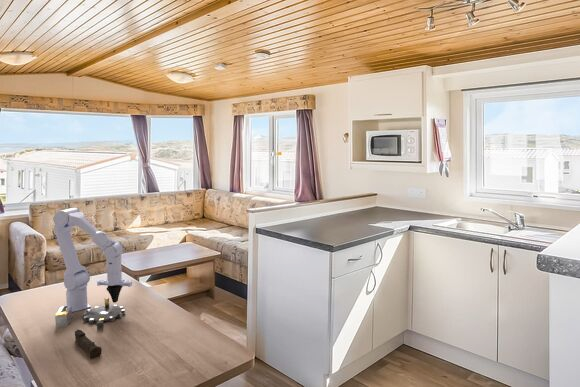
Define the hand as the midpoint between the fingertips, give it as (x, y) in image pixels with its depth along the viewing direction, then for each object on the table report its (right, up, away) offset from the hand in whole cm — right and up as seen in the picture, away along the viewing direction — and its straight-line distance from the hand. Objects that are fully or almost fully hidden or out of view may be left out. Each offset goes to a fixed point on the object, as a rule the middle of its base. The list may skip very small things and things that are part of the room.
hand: (115, 301), depth 177 cm
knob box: (-16, -5, -12) cm, 20 cm away
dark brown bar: (+3, -8, -33) cm, 34 cm away
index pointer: (+1, -6, -16) cm, 17 cm away
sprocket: (-2, -5, -5) cm, 7 cm away
